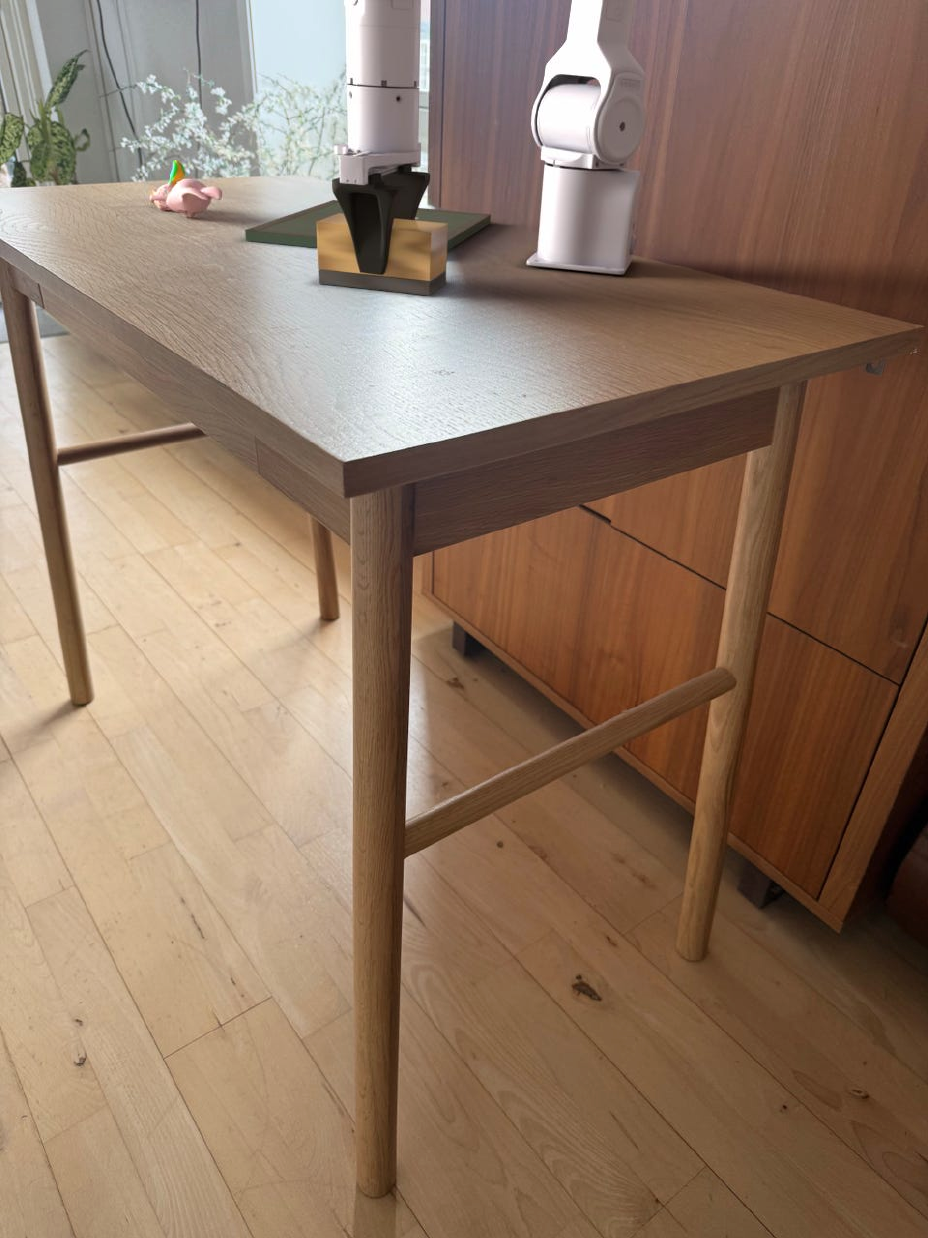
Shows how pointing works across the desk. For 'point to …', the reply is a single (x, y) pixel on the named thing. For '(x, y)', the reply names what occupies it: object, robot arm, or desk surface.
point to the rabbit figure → (184, 194)
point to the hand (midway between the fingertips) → (383, 266)
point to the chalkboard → (304, 223)
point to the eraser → (409, 262)
